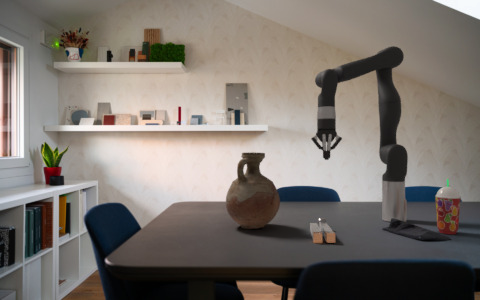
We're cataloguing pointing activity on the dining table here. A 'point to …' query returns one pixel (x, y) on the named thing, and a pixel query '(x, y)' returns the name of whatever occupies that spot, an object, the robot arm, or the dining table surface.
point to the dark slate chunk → (413, 231)
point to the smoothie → (447, 209)
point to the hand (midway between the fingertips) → (326, 159)
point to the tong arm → (327, 232)
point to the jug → (252, 194)
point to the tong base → (316, 231)
